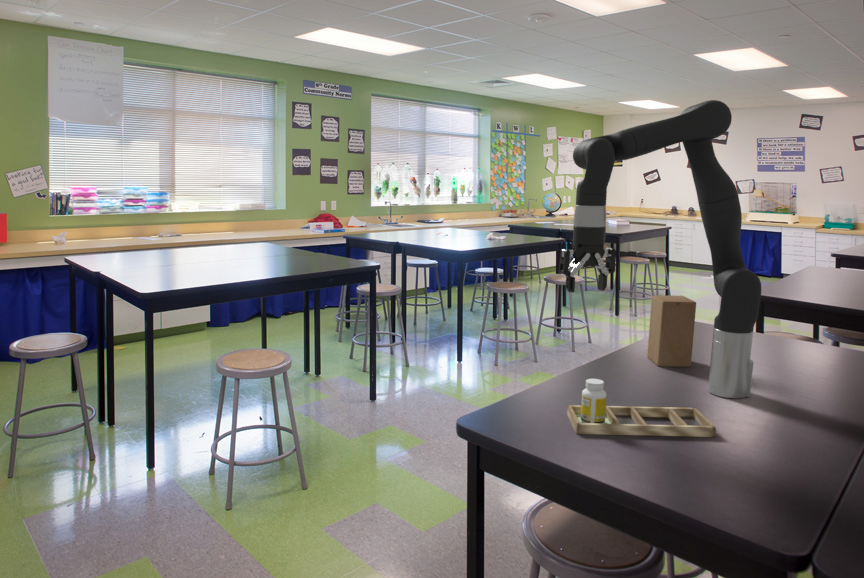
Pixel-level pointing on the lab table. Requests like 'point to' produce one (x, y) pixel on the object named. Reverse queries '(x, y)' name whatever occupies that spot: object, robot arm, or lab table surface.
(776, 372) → the lab table surface
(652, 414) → the wooden compartment tray
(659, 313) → the wooden block
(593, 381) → the supplement bottle
